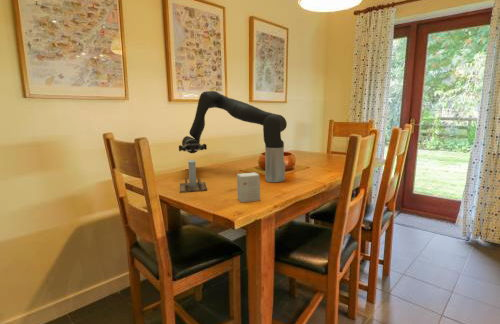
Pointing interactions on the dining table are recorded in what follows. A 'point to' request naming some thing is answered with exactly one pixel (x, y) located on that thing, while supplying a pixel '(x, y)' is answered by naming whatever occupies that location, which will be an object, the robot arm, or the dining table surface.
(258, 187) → the small box
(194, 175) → the grey rectangular block
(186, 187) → the rack
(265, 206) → the dining table surface
